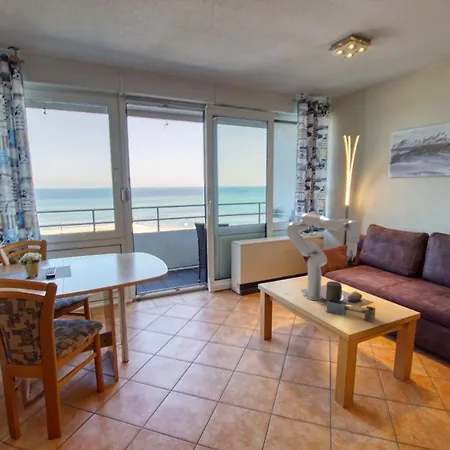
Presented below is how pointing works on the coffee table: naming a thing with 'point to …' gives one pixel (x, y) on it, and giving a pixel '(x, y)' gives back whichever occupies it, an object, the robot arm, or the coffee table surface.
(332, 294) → the pillar candle
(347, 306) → the tube
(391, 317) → the coffee table surface
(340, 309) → the grey rectangular block
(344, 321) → the coffee table surface
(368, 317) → the socket
